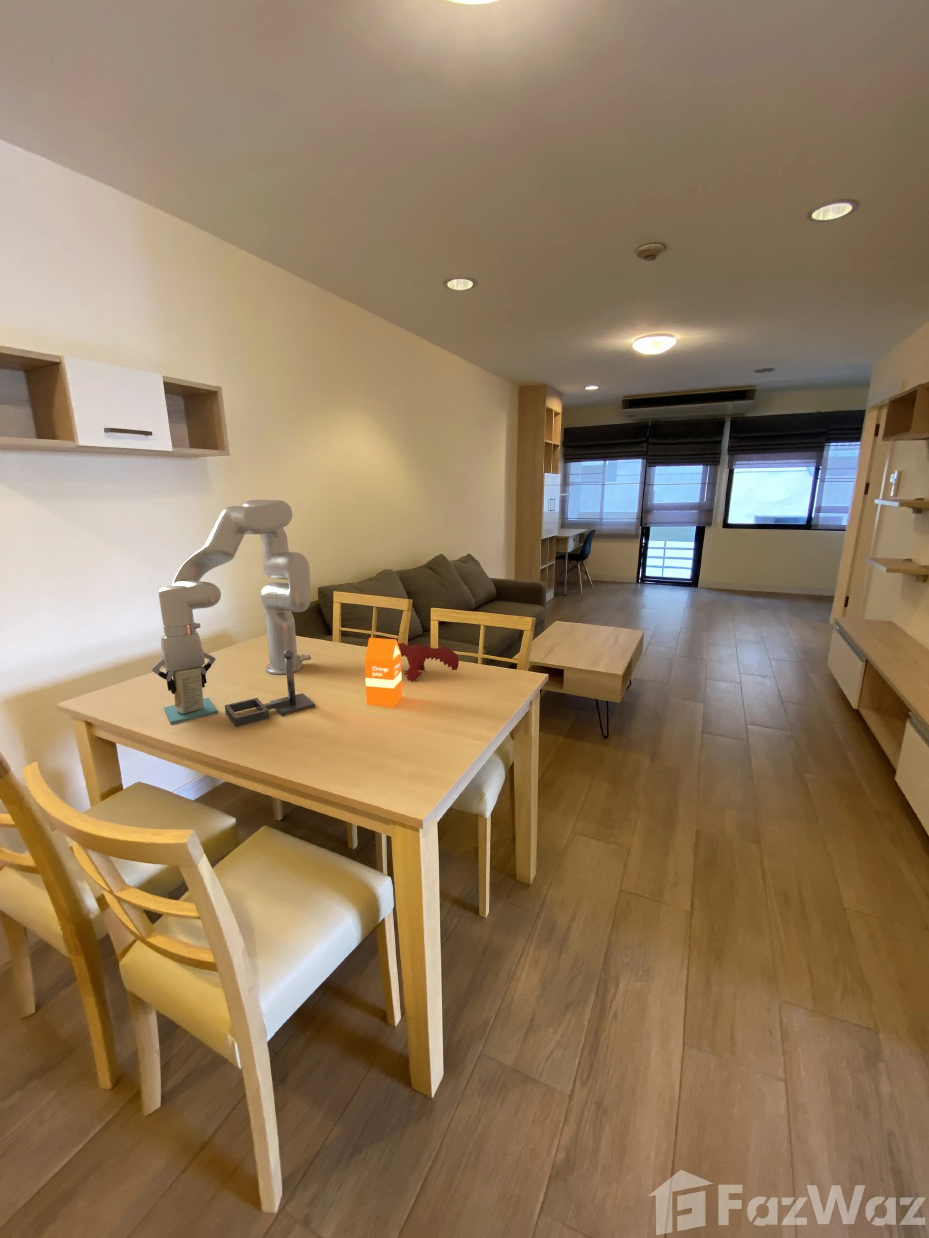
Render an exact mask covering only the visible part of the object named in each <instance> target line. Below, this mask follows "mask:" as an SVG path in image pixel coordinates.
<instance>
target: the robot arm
mask: <svg viewBox="0 0 929 1238" xmlns="http://www.w3.org/2000/svg"><path fill="white" fill-rule="evenodd" d="M292 519H293V509H292V507H291V506H290V504H288V502H286V501H285V500H281V499H280V500H279V499H251V500H247V501H245V502H244V503H243V504H242V505H231V506H230V505H229V506H227V507H225V508H224V509H223V510H222V511H221V513H220V514H219V516H218V519H217V520H216V521H215V522H216V523H215V524H214V527H213V529H212V530H211V532H210V534H209V536H208V538H207V540H206V542H205V544H204V546H202V547H201V548H199V549H198V550H197V551H195V552H194V553H193V554H192V555H190V556H189V558H188V559H186V560H185V561H184V562H183V564H181V566H180V567H179V569H178V570H177V572H176V574H175V577H174V579H173V581H172V583H171V585H167V586H163V587H160V589H159V590H158V598H159V599H158V600H159V606H160V613H161V619H162V627H163V634H164V635H161V639H160V642H161V643H160V645H161V646H160V649H161V652H160V653H161V659H159V661H158V662H156V663H155V664H154V665H153V666H152V667H151V672H152V673H154V674H155V675H157V676H159V678H161V679H163V680H165V681H166V685H167V690H168V692H171V694H172V695H174V694H175V688H174V681H173V674H174V671H180V670H185V669H190V668H196V667H197V668H201V678H202V689H204V688H205V687H206V686H205V685H206V684H207V676H206V675H207V673H208V671H209V670H210V669H211V667H212V665H214V663H215V661H216V660H217V659H216V657H215V656H213V655H211V654H210V653H207V652H205V651H204V648H203V644H202V641H201V638H200V634H199V632H198V630H197V629H201V623H199V622H197V623H196V622H195V619H194V614H193V613H194V610H197V609H207V608H213V607H214V606H215V605H217V604H218V603H219V601H220V600H221V597H222V593H221V589H220V588H219V587H218V585H216V584H214V583H212V582H209V581H201V579H202V578H203V577H204V575H205V574H207V573H208V572H209V571H211V570H213V569H215V568H217V567H220V566H222V565H225V564H227V563H229V562H230V561H232V560H234V558H235V557H236V554H237V551H238V549H239V547H240V545H241V543H242V541H243V539H244V537H245V536H246V535H259V538H260V542H261V555H262V567H263V572H264V574H265V575H266V577H268V578H270V579H276V580H286V581H288V583H287V582H280V581H279V582H278V581H274V582H268V583H267V584H264V586H263V587H262V588H261V590H260V595H259V596H260V602H261V603H260V604H261V606H262V609H263V612H264V616H265V625H266V627H265V628H266V635H267V636H266V637H267V645H268V646H267V647H268V648H267V649H268V656H269V663H268V664H267V665H266V666H265V672H267V673H269V674H271V675H287V674H286V662H285V658H284V656H283V654H284V652H285V651H286V650H291V651H292V652H293V654H294V655H293V658H292V659H293V671H294V673H295V672H298V671H300V670H301V669H303V667H304V666H303V664H304V663H303V661H311V659H312V657H311V654H306V655H305V653H304V654H298V650H297V649H298V648H297V635H296V622H295V618H294V615H293V613H292V612H295V613H300V612H301V613H302V612H305V611H306V610H307V609H308V608H309V607H310V604H311V601H312V591H311V590H312V589H311V570H310V568H311V567H310V565H309V564H310V563H309V561H308V559H307V557H306V556H305V555H304V554H302V553H300V552H297V551H289V543H288V542H289V541H288V536H287V533H286V530H285V528H284V527H287V526H288V525H289V524H290V523H291V521H292ZM205 659H207V662H205ZM162 667H163V668H164V669H165V671H166V672H164V671H163V670H161V668H162Z"/></svg>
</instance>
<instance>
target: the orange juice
mask: <svg viewBox="0 0 929 1238" xmlns="http://www.w3.org/2000/svg"><path fill="white" fill-rule="evenodd" d="M398 644H399V643H398V640H397V639H393V638H392V639H390V638H377V637H369V638H368V643H367V647H366V653H365V656H364V657H365V658H364V668H365V670H364V671H365V692H366V705H370V706H380V707H381V706H382V707H392V708H394V707H395V706H396V705H397V704H398V702H400V700H402V698H403V697H402V696H403V691H402V689H403V685H402V684H403V683H402V677H403V676H402V656H401V653H400V650H399V647H398Z"/></svg>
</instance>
